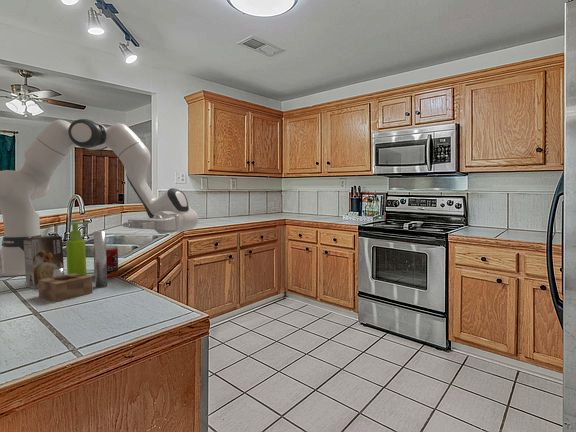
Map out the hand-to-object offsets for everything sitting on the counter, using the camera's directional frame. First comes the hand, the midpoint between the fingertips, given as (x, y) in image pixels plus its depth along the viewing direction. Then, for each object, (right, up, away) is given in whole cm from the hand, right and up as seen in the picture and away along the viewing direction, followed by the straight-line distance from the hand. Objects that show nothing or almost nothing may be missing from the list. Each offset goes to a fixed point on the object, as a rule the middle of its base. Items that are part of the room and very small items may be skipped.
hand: (132, 225), depth 122 cm
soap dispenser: (-22, -19, +4) cm, 29 cm away
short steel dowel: (-20, -20, -10) cm, 30 cm away
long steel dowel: (-6, -20, -9) cm, 23 cm away
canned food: (-11, -19, +4) cm, 23 cm away
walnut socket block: (-11, -20, -19) cm, 30 cm away
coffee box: (-26, -20, -8) cm, 33 cm away
